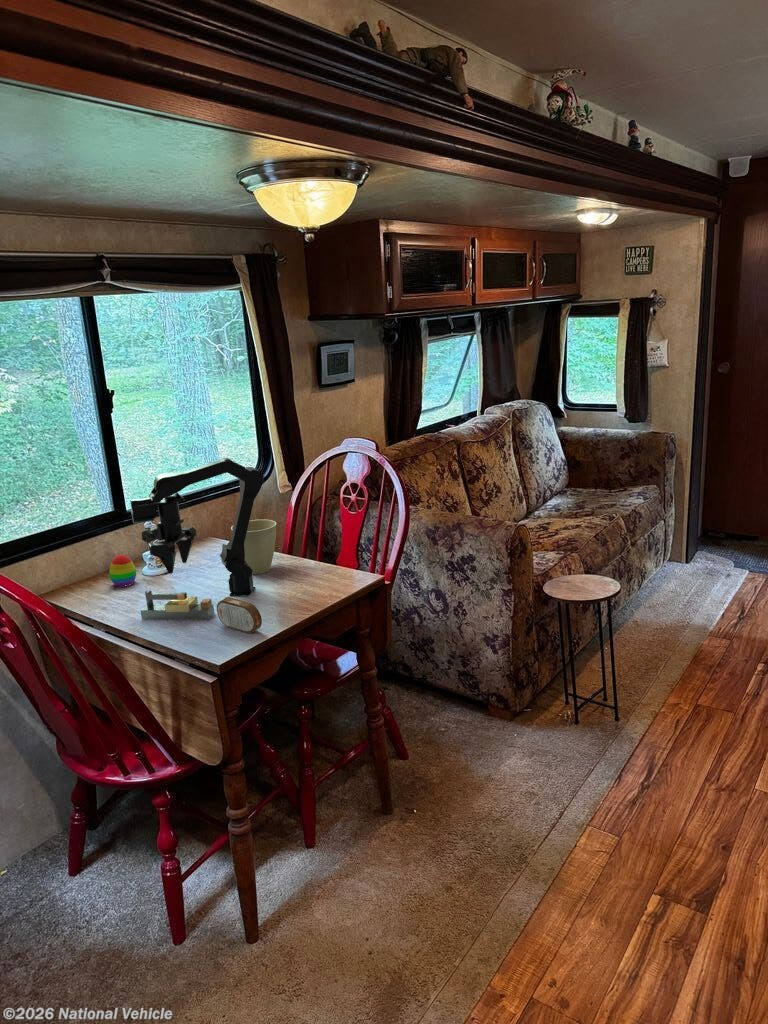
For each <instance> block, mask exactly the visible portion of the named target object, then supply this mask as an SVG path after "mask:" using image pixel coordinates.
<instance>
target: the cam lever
mask: <svg viewBox="0 0 768 1024" xmlns="http://www.w3.org/2000/svg"><path fill="white" fill-rule="evenodd" d="M144 595H145V602H146V605H147V608H152V607H154V605H153V604H154V601H160V600H161V601H167V600H168V601H170V600H185V599H186V598H187V596H188V593H187V591H185V592H153V591H152V590H146V591H144Z"/></svg>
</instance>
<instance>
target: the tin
mask: <svg viewBox="0 0 768 1024" xmlns="http://www.w3.org/2000/svg"><path fill="white" fill-rule="evenodd" d="M216 611H217V616H218V619H219V620H220V622H221V623H222V625H224V626H225V627H226V628H230V629H232V630H236V631H240V632H243V633H246V634H252V633H254V632H255V631H257V630H259V629H260V628H261V626H262V624H263V620H262V619H263V618H262V615H261V612H260V611H259V609H258V607H256V606H255V604H254V603H252V602H250V601H248V600H247V601H246V600H242V599H239V598H235V597H233V596H226V597H225V598H223V599H222V600H219V602H218V603H217V604H216Z"/></svg>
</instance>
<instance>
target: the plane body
mask: <svg viewBox="0 0 768 1024" xmlns="http://www.w3.org/2000/svg"><path fill="white" fill-rule="evenodd" d="M165 604H166V603H164V604H163V603H160V604H159V603H158V604H156V603H153V605H154V607H152V608H147V604H146V605H145V606H144V607H143V608H142V609H140V615H141V621H210V620H211V618H213V616H214V615H215V606H214V604H213V602H212V598H203V599H202V600H201V601H200V602H199V603H197V604H196V605H195V606H194V607H193V609H192V610H191V611H190V612H166V611H165Z"/></svg>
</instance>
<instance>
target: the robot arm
mask: <svg viewBox="0 0 768 1024" xmlns="http://www.w3.org/2000/svg"><path fill="white" fill-rule="evenodd" d="M224 474H228V475H230V476H231V475H232V476H233V477H235V478H237V479H239V494H240V496H239V500H238V505H237V509H236V514H235V517H234V522H233V525H234V526H233V525H232V526H233V530H231V534H230V535H231V536H230V539H229V541H228V543H227V544H224V543H222V546H221V547H222V549H221V552H220V554H219V557H220V558H221V563H222V564H223V566H224V567H225V568H226V570H227V572H229V573H230V574H229V579H227V580H228V589H229V592H230V593H229V597H233V596H234V597H235V596H238V597H239V596H241V597H242V596H243V597H244V596H245V597H247V596H251V595H252V593H253V592H254V591H255V590H256V586H254V579H253V577H254V576H253V574H252V571H253V570H252V568H251V567H250V566H249V565H248V564H247V562H246V561H245V550H244V542H245V538H246V534H247V529H248V525H249V521H251V520H250V519H251V516H252V511H253V506H254V502H255V499H256V497H257V496H258V495H259V493H260V491H261V489H262V487H263V484H264V481H265V479H264V475H263V474H262V472H261V471H259V470H258V469H256V468H255V467H253V466H248V467H246V466H243V465H241V464H240V463H238V462H235V461H233V460H232V459H230V458H229V457H223V458H221V459H218V460H217V461H213V462H210V463H207V464H203V465H200V466H197V467H193V468H191V469H187V470H183V471H178V472H177V471H176V472H174V471H173V472H166V473H160V474H159V475H158V474H157V476H156V477H155V478H154V480H153V488H152V490H151V491H150V494H148V497H146V498H138V499H137V498H135V499H130V508H131V509H130V513H131V517H132V523H133V524H139V523H146V522H152V521H154V520H155V519H156V518H157V517H158V516H159V522H157V524H156V526H155V527H153V528H151V529H149V528H147V529H145V530H142V531H141V540H142V541H143V542H145V543H146V544H147V545H148V544H150V543H152V542H154V541H155V542H154V543H153V544H151V545H150V546H149V548H148V549H149V554H150V556H153V557H156V558H159V559H160V561H161V562H162V564H163V566H164V567H165V569H166V571H167V573H168V574H170V575H172V574H173V573H174V568H175V560H176V555H177V551H176V545H177V547H178V550H179V551H178V552H179V555H180V559H181V562H182V564H186V563H187V562H188V560H189V559H188V558H189V555H190V552H191V549H192V546H193V543H194V540H195V539H196V536H197V530H196V529H195V528H194V527H193V526H182V524H183V523H184V518H183V517H182V518H181V514H180V507H179V506H180V505H179V503H180V502H185V498H184V496H183V495H180V493H179V492H181V491H182V490H184V489H185V488H187V487H189V486H190V485H194V484H196V483H200V482H202V481H206V480H209V479H213V478H215V477H218V476H220V475H224ZM157 509H158V511H157ZM156 540H158V541H156Z"/></svg>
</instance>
